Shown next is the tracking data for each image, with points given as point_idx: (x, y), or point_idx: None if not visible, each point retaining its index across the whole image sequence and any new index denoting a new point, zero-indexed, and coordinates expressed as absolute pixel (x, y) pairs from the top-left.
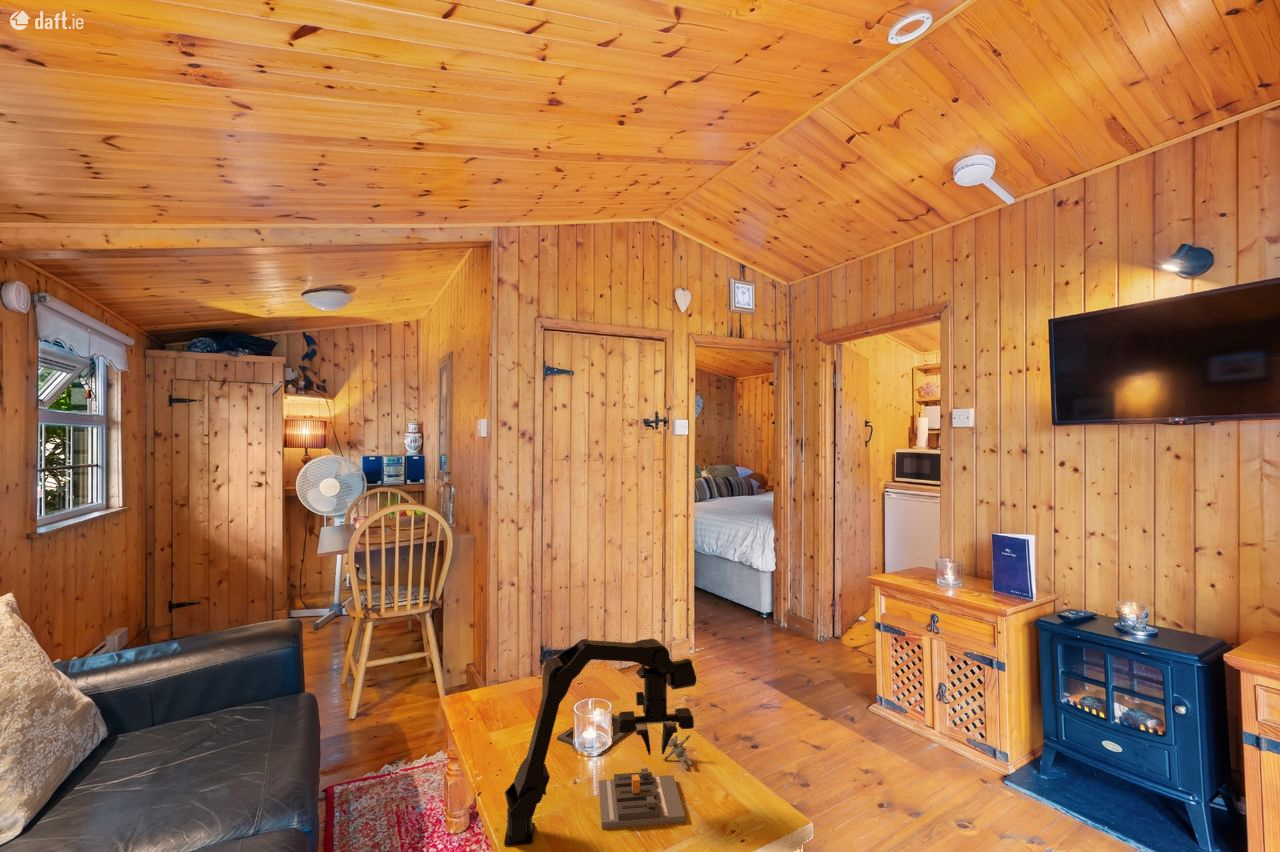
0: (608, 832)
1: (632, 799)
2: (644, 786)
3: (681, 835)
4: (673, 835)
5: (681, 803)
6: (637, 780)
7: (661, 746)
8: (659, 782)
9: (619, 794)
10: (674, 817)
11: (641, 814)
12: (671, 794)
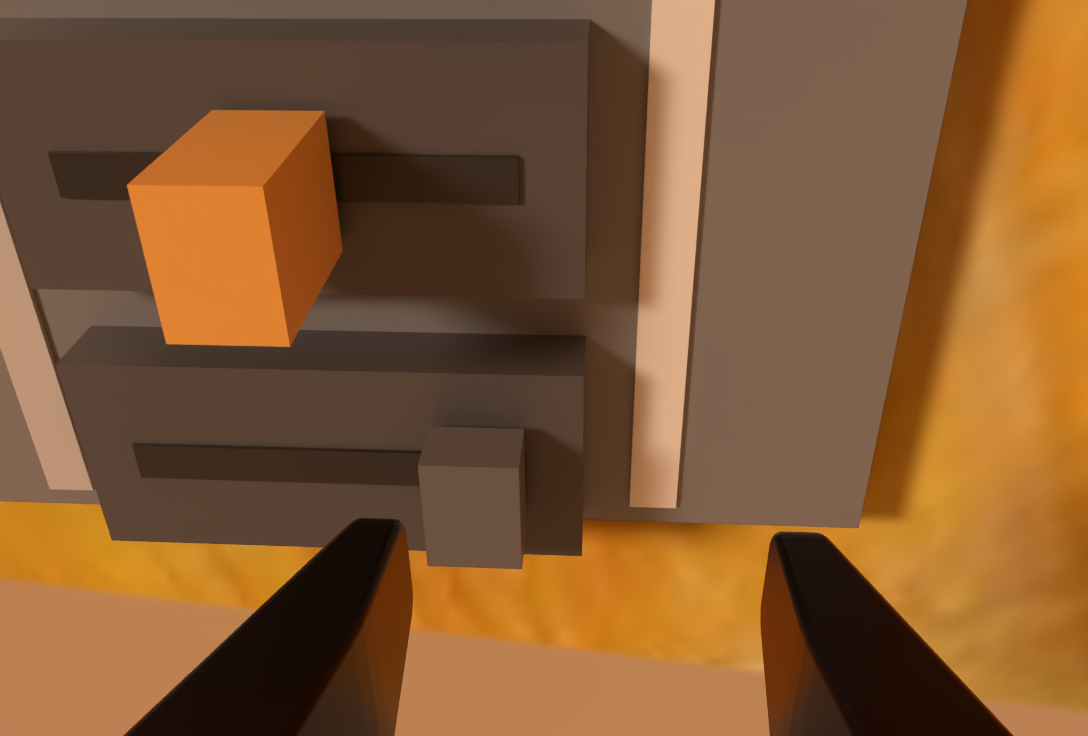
0: (84, 504)
1: None
2: (420, 63)
3: (752, 616)
4: (680, 607)
5: (896, 340)
6: (251, 343)
7: (803, 633)
8: None
9: (52, 214)
10: (738, 519)
11: None
12: (826, 141)
